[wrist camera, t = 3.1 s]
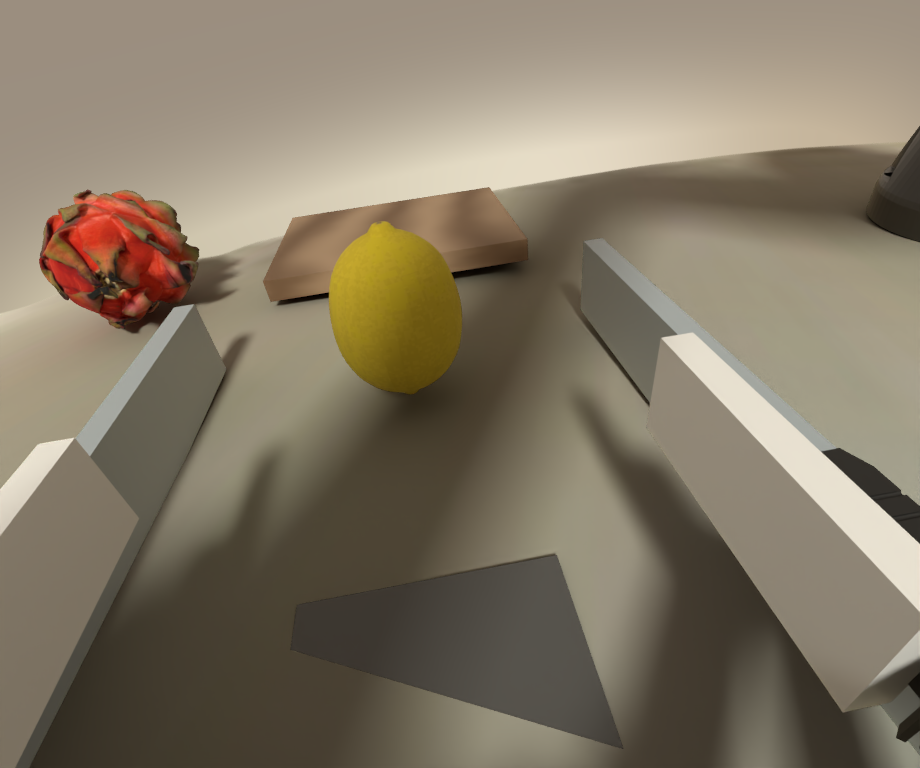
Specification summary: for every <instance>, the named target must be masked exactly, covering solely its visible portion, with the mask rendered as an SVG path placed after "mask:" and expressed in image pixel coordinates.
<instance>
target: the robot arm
mask: <svg viewBox="0 0 920 768" xmlns="http://www.w3.org/2000/svg"><path fill="white" fill-rule="evenodd" d="M866 212H867V214H868V216H869V217H870V219H871V220H872V221H874V222H875V223H876V224H878V225H879V226H881V227H883V228H885V229H887V230H889V231H891V232H893V233H896V234H898V235H901V236H904V237H906V238H910V239H913V240H916V241H919V242H920V126H919V128H918V129H917V130H916V132H915V133H914V134H913V136H912V137H911V138H910V140H909V141H908V142H907V144H906V145H905V146H904V148H903V149H902V151H901V152H900V153H899V155H898V156H897V158H896V159H895V161H894V163H893V164H892V166H890V167H889V168H887V169H886V170H885V171H884V172H883V173H882V175H881V176H880V178H879V179H878V181H877V183H876V185H875V188H874V190H873V193H872V195H871V198H870V201H869V203H868V206H867V209H866ZM646 428H647V429H648V431H649V432H650V434H651V435H652V437H653V438H654V440H655V441H656V442H657V444H658V445H659V447H660V448H661V450H662V451H663V453H664V454H665V455H666V457H667V458H668V460H669V461H670V463H671V464H672V466H673V467H674V469H675V470H676V471H677V473H678V474H679V476H680V477H681V479H682V480H683V482H684V483H685V484H686V486H687V487H688V489H689V490H690V492H691V493H692V495H693V496H694V498H695V499H696V500H697V502H698V503H699V505H700V506H701V508H702V509H703V511H704V512H705V513H706V515H707V516H708V518H709V519H710V521H711V522H712V524H713V525H714V527H715V528H716V529H717V531H718V532H719V534H720V535H721V537H722V538H723V540H724V541H725V542H726V544H727V545H728V547H729V548H730V550H731V551H732V553H733V554H734V556H735V557H736V558H737V560H738V561H739V563H740V564H741V566H742V567H743V569H744V570H745V571H746V573H747V574H748V576H749V577H750V579H751V580H752V582H753V583H754V585H755V586H756V587H757V589H758V590H759V592H760V593H761V595H762V596H763V598H764V599H765V600H766V602H767V603H768V605H769V606H770V608H771V609H772V611H773V612H774V614H775V615H776V616H777V618H778V619H779V621H780V622H781V624H782V625H783V627H784V628H785V629H786V631H787V632H788V634H789V635H790V637H791V638H792V640H793V641H794V643H795V644H796V645H797V647H798V648H799V650H800V651H801V653H802V654H803V656H804V657H805V659H806V660H807V661H808V663H809V664H810V666H811V667H812V669H813V670H814V672H815V673H816V674H817V676H818V677H819V679H820V680H821V682H822V683H823V685H824V686H825V688H826V689H827V690H828V692H829V693H830V695H831V696H832V698H833V699H834V701H835V702H836V703H837V705H838V706H839V708H840V709H841V711H842V712H848V711H853V710H857V709H862V708H867V707H872V706H876V705H881V704H886V703H890V702H891V701H892V700H894V699H895V698H896V697H897V696H898V695H899V694H900V693H901V692H902V691H903V690H904V689H905V688H906V687H907V686H908V685H909V686H910V687H911V689H912V690H913V691H914V692H915V694H916V695H917V696H918V697H919V698H920V506H919V505H918V504H916V503H915V502H914V501H913V500H912V499H911V498H910V497H908V496H907V495H902V493H901V490H900V489H899V488H898V487H897V486H896V485H894V484H893V483H892V482H891V481H890V480H889V479H888V478H886V477H885V476H884V475H883V474H882V473H881V472H879V471H878V470H877V469H876V468H875V467H874V466H872V465H870V464H868V463H866V462H864V461H863V460H861V459H859V458H857V457H855V456H853V455H851V454H850V453H848V452H846V451H844V450H842V449H840V448H837V449H831V450H826V451H820V450H819V449H818V448H816V447H815V446H814V445H813V444H812V443H811V442H810V441H809V440H808V439H807V438H806V437H805V436H804V435H803V434H801V433H800V432H799V431H798V430H797V429H796V428H795V427H794V426H793V425H792V424H791V423H790V422H789V421H788V420H786V419H785V418H784V417H783V416H782V415H781V414H780V413H779V412H778V411H777V410H776V409H775V408H774V407H773V406H771V405H770V404H769V403H768V402H767V401H766V400H765V399H764V398H763V397H762V396H761V395H760V394H759V393H757V392H756V391H755V390H754V389H753V388H752V387H751V386H750V385H749V384H748V383H747V382H746V381H745V380H744V379H742V378H741V377H740V376H739V375H738V374H737V373H736V372H735V371H734V370H733V369H732V368H731V367H730V366H729V365H727V364H726V363H725V362H724V361H723V360H722V359H721V358H720V357H719V356H718V355H717V354H716V353H715V352H714V351H712V350H711V349H710V348H709V347H708V346H707V345H706V344H705V343H704V342H703V341H702V340H701V339H700V338H699V337H697V336H696V335H695V334H694V333H693V332H692V333H686V334H680V335H675V336H669V337H663V338H661V340H660V346H659V352H658V358H657V364H656V370H655V377H654V383H653V389H652V395H651V401H650V407H649V413H648V419H647V425H646ZM138 520H139V517H138V516H137V515H136V514H135V512H134V511H133V510H132V509H131V507H130V506H129V505H128V504H127V502H126V501H125V500H124V499H123V497H122V496H121V495H120V494H119V492H118V491H117V490H116V489H115V487H114V486H113V485H112V484H111V482H110V481H109V480H108V479H107V477H106V476H105V475H104V474H103V472H102V471H101V470H100V469H99V467H98V466H97V465H96V464H95V462H94V461H93V460H92V459H91V457H90V456H89V455H88V454H87V452H86V451H85V450H84V449H83V447H82V446H81V445H80V444H79V442H78V441H77V440H76V439H75V438H70V439H64V440H59V441H53V442H47V443H41V444H38V445H37V446H36V447H35V449H34V450H33V451H32V452H31V453H30V455H29V456H28V457H27V458H26V459H25V461H24V462H23V463H22V464H21V465H20V467H19V468H18V469H17V470H16V471H15V473H14V474H13V475H12V476H11V477H10V478H9V480H8V481H7V482H6V483H5V484H4V486H3V487H2V488H1V489H0V768H15V767H16V765H17V763H18V761H19V759H20V757H21V755H22V753H23V751H24V749H25V747H26V745H27V743H28V741H29V739H30V737H31V735H32V733H33V731H34V729H35V727H36V725H37V723H38V721H39V719H40V717H41V715H42V713H43V711H44V709H45V707H46V705H47V703H48V701H49V699H50V697H51V695H52V693H53V691H54V689H55V687H56V685H57V683H58V681H59V679H60V677H61V675H62V673H63V671H64V669H65V667H66V665H67V663H68V661H69V659H70V657H71V654H72V652H73V650H74V648H75V646H76V644H77V642H78V640H79V638H80V636H81V634H82V632H83V630H84V628H85V626H86V624H87V622H88V620H89V618H90V616H91V614H92V612H93V610H94V608H95V606H96V604H97V602H98V600H99V598H100V596H101V594H102V592H103V590H104V588H105V586H106V584H107V582H108V580H109V578H110V576H111V574H112V572H113V570H114V568H115V566H116V564H117V562H118V560H119V558H120V556H121V554H122V552H123V550H124V548H125V546H126V544H127V542H128V540H129V538H130V536H131V534H132V532H133V530H134V528H135V526H136V524H137V522H138ZM919 731H920V707H919V708H918V709H916V710H915V711H914V712H913V713H912V714H911V715H909V716H908V717H907V718H906V719H905V720H904V721H903V722H901V723H900V724H899V727H898V732H897V736H896V738H897V739H899V740H902V741H904V742H907V741H908V740H909V739H910V738H912V737H913V736H914V735H915V734H917V733H918V732H919ZM919 749H920V746H919Z"/></svg>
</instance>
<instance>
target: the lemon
mask: <svg viewBox="0 0 920 768" xmlns="http://www.w3.org/2000/svg"><path fill="white" fill-rule="evenodd" d="M329 310H330V318H331V323H332V328H333V332H334V336H335V339H336V342H337V345H338V347H339V350H340V352H341V354H342V356H343V357H344V359H345V361H346V362H347V364H348V365H349V366H350V367H351V368H352V370H353V371H354V372H355V373H356V374H357V375H358V376H359V377H360V378H362V379H363V380H364V381H366V382H367V383H369V384H371V385H373V386H375V387H377V388H379V389H382V390H386V391H390V392H404V393H406V394H415V393H416V392H418V391H419V389H421V388H424V387H426V386H428V385H430V384H431V383H433V382H435V381H436V380H437V379H439V378H440V377H441V376H442V375H443V374H444V373H445V372H446V371H447V370H448V368H449V367H450V365H451V363H452V362H453V360H454V358H455V356H456V354H457V352H458V349H459V345H460V340H461V331H462V308H461V302H460V297H459V293H458V290H457V287H456V284H455V281H454V278H453V276H452V274H451V271H450V269H449V267H448V265H447V263H446V261H445V260H444V258H443V256H442V255H441V254H440V253H439V251H438V250H437V249H436V248H435V247H434V246H433V245H431V244H430V243H429V242H427V241H426V240H424V239H423V238H421V237H420V236H418V235H416V234H414V233H412V232H408V231H405V230H401V229H396V228H394V227H393V226H392V225H391V224H390V223H389V222H386V221H382V222H376V223H373V224H372V225H371V226H370V228H369V230H368V232H367V233H366V234H364V235H362V236H360V237H359V238H357V239H356V240H354V241H353V242H352V243H351V244H350V245H349V246H348V247H347V248H346V249H345V250H344V251H343V253H342V254H341V255H340V257H339V259H338V260H337V262H336V264H335V267H334V269H333V272H332V275H331V280H330V285H329Z"/></svg>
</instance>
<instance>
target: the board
mask: <svg viewBox="0 0 920 768" xmlns="http://www.w3.org/2000/svg"><path fill="white" fill-rule="evenodd" d="M382 221H386V222H389V223H390V224H391V225H392V226H393V227H394V228H396V229H401V230H405V231H408V232H412V233H414V234H416V235H418V236H420V237H421V238H423V239H424V240H426V241H427V242H429V243H430V244H431V245H433V246H434V247H435V248H436V249H437V250H438V251H439V253H440V254H441V255H442V256H443V258H444V260H445V261H446V263H447V265H448V267H449V269H450V271H451V272H456V271H463V270H469V269H475V268H481V267H487V266H493V265H499V264H505V263H512V262H518V261H524V260H528V244H527V238H526V236H525V235H524V234H523V232H522V231H521V230H520V228H519V227H518V226H517V224H516V223H515V222H514V220H513V219H512V218H511V216H510V215H509V213H508V212H507V211H506V209H505V208H504V207H503V205H502V204H501V203H500V201H499V200H498V199H497V197H496V196H495V195H494V193H493V192H492V191H491V189H490V188H489V187H488V188H482V189H476V190H469V191H462V192H456V193H450V194H443V195H437V196H430V197H424V198H417V199H411V200H405V201H398V202H392V203H385V204H379V205H372V206H366V207H359V208H353V209H347V210H340V211H334V212H327V213H321V214H314V215H309V216H302V217H295V218H293V219H292V221H291V223H290V225H289V227H288V229H287V231H286V234H285V236H284V238H283V240H282V242H281V244H280V246H279V248H278V251H277V253H276V255H275V257H274V259H273V261H272V263H271V265H270V268H269V270H268V272H267V274H266V276H265V278H264V280H263V283H264V286H265V288H266V291H267V293H268V296H269V299H270V301H271V302H272V301H279V300H285V299H291V298H297V297H303V296H309V295H315V294H322V293H328V292H329V285H330V280H331V275H332V272H333V269H334V267H335V264H336V262H337V260H338V259H339V257H340V255H341V254H342V253H343V251H344V250H345V249H346V248H347V247H348V246H349V245H350V244H351V243H352V242H353V241H354V240H356V239H357V238H359V237H360V236H362V235H364V234H366V233H367V232H368V230H369V228H370V226H371V225H372V224H373V223H376V222H382Z"/></svg>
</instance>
